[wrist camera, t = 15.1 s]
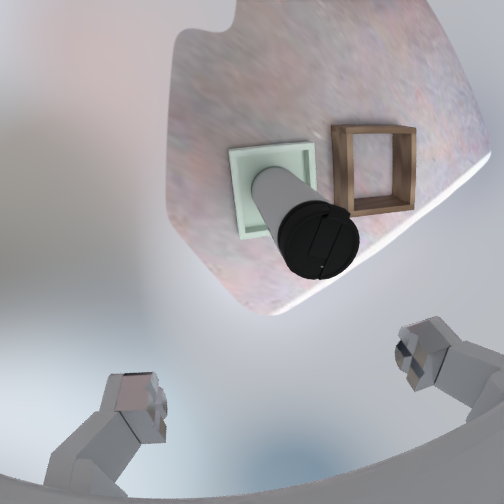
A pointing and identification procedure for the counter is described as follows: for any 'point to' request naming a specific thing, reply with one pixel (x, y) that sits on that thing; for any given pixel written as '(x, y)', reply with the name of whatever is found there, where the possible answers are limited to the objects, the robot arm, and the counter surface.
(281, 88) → the counter surface
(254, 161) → the dock
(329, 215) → the travel mug
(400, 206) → the square wooden frame
